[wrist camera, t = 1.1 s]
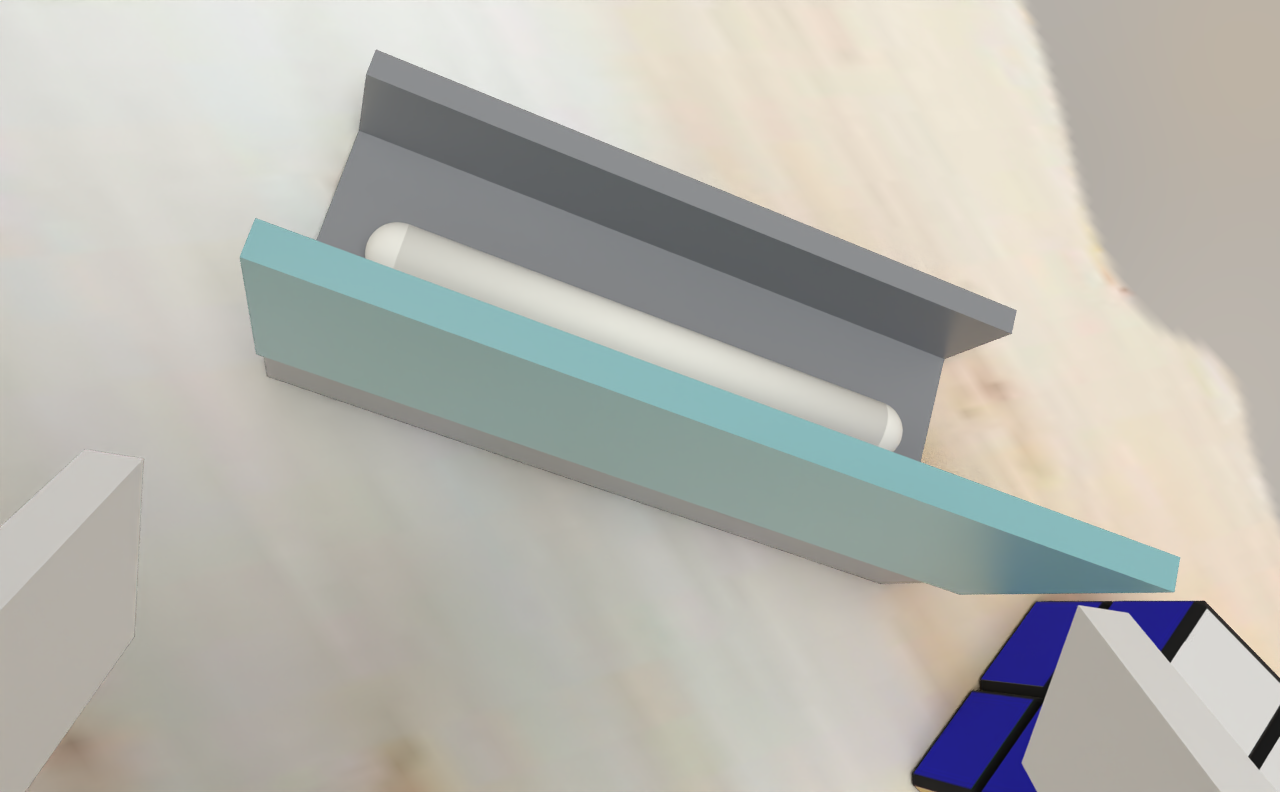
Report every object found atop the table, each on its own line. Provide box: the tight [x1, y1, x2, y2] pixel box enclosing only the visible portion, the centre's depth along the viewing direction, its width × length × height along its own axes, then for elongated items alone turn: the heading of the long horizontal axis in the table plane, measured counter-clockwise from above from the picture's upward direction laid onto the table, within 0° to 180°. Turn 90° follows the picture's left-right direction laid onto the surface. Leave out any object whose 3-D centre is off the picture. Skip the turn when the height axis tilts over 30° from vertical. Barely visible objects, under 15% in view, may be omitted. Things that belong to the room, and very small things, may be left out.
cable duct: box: [264, 50, 1017, 584], centre depth 44 cm, size 11×26×6 cm, turn 72°
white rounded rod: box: [365, 222, 903, 452], centre depth 45 cm, size 22×2×2 cm, turn 72°
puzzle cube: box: [913, 601, 1280, 792], centre depth 45 cm, size 10×10×10 cm
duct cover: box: [240, 218, 1180, 595], centre depth 35 cm, size 11×26×1 cm
